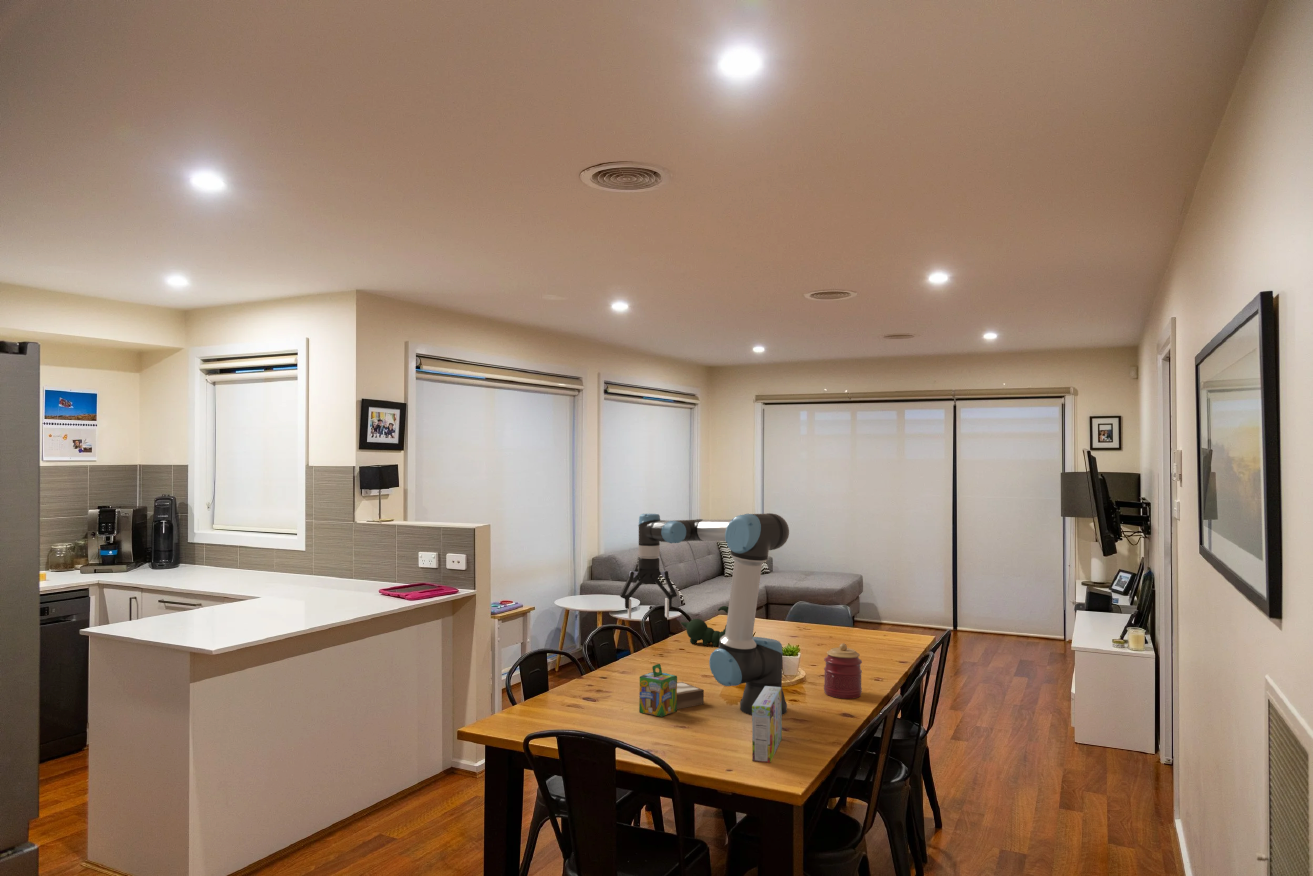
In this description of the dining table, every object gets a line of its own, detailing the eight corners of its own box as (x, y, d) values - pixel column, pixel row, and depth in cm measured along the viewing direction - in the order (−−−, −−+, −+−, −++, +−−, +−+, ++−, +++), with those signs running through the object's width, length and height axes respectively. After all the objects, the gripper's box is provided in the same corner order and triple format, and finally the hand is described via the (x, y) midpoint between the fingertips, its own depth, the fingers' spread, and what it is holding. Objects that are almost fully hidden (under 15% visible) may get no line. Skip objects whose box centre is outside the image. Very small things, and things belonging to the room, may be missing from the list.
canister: (832, 687, 297) (833, 638, 297) (867, 693, 289) (867, 643, 290) (817, 695, 286) (818, 644, 287) (853, 701, 279) (853, 649, 279)
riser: (703, 705, 273) (703, 689, 273) (674, 710, 266) (674, 694, 266) (681, 696, 282) (682, 681, 283) (653, 701, 276) (653, 685, 276)
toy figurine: (735, 649, 364) (682, 639, 372) (740, 606, 364) (686, 597, 372) (730, 653, 355) (675, 643, 363) (735, 609, 355) (680, 600, 363)
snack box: (763, 737, 240) (764, 685, 241) (782, 739, 239) (783, 686, 239) (750, 761, 220) (751, 704, 221) (771, 764, 219) (772, 706, 219)
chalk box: (661, 718, 257) (662, 670, 257) (637, 712, 262) (638, 665, 262) (677, 711, 264) (678, 664, 265) (654, 706, 269) (655, 660, 270)
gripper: (680, 555, 298) (679, 614, 297) (612, 556, 292) (611, 616, 292) (685, 557, 291) (685, 618, 290) (616, 558, 285) (615, 620, 284)
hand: (648, 617), depth 291 cm, fingers open, 13 cm apart
